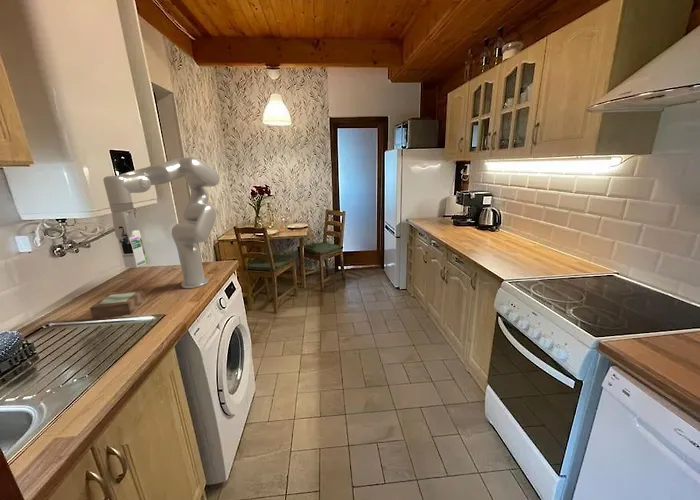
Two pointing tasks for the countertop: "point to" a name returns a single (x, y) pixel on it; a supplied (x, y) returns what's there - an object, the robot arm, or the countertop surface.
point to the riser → (117, 304)
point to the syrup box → (134, 251)
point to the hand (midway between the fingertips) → (132, 250)
